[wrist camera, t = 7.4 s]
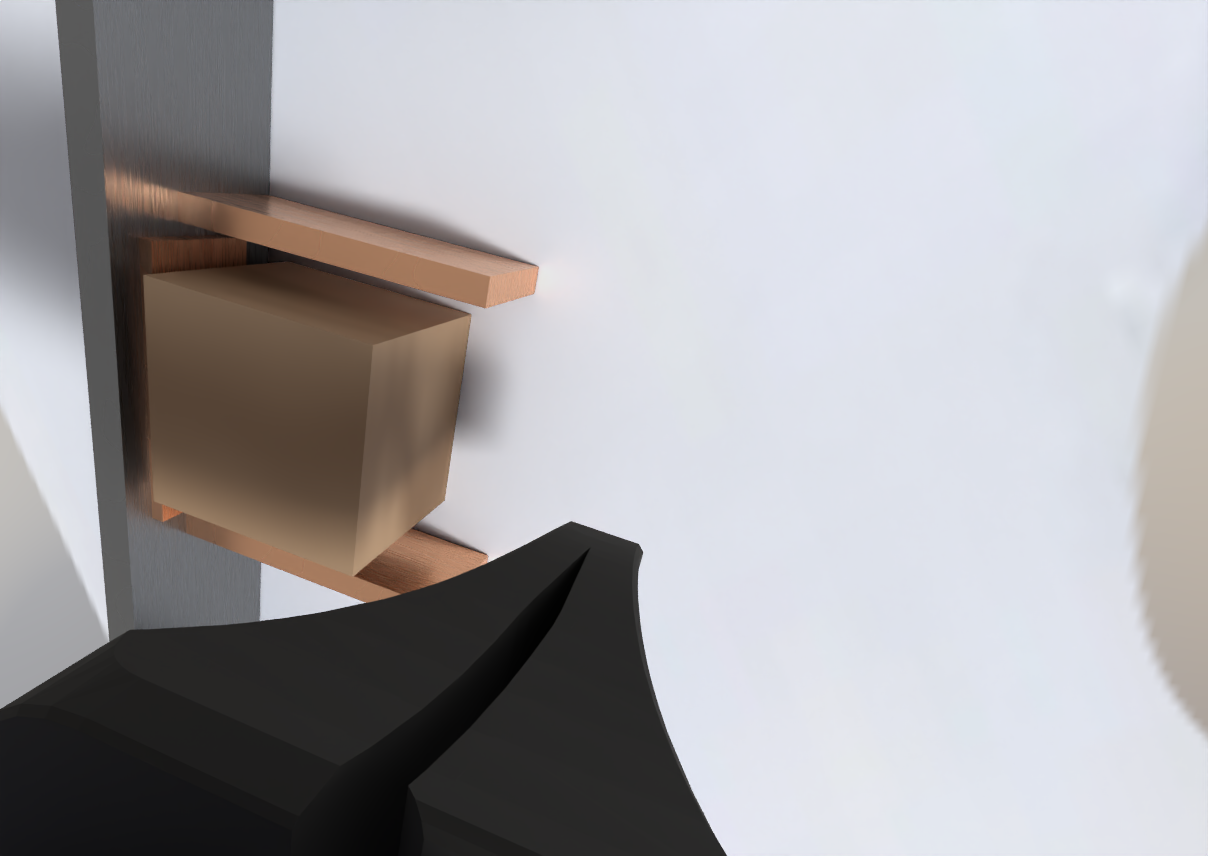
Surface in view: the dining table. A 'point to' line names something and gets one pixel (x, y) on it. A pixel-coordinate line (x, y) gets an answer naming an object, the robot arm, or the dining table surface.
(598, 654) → the robot arm
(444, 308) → the walnut block
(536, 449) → the dining table surface
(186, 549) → the rack
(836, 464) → the dining table surface
